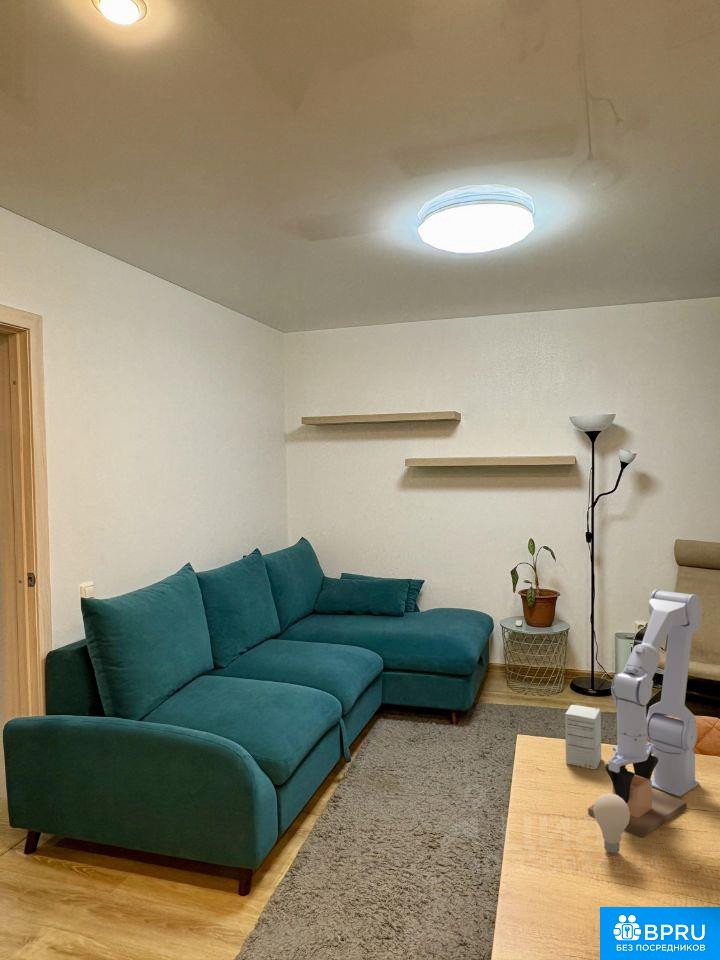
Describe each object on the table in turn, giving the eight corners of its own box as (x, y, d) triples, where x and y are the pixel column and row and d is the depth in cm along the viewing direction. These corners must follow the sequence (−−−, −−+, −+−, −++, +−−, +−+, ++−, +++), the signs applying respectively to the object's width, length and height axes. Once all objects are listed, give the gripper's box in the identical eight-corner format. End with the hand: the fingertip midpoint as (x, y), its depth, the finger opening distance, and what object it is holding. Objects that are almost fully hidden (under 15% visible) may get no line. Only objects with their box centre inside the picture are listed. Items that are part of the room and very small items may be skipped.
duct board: (633, 787, 153) (633, 766, 152) (686, 807, 143) (686, 785, 143) (588, 813, 141) (587, 791, 141) (642, 837, 132) (641, 814, 132)
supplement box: (571, 752, 171) (571, 703, 171) (602, 758, 167) (601, 708, 167) (564, 764, 165) (564, 713, 165) (596, 770, 161) (595, 718, 161)
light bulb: (633, 864, 123) (633, 805, 123) (596, 860, 125) (595, 802, 124) (627, 844, 130) (626, 788, 130) (591, 841, 131) (590, 785, 131)
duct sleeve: (626, 798, 145) (626, 771, 145) (651, 808, 141) (651, 780, 140) (612, 807, 141) (612, 779, 141) (638, 817, 137) (637, 788, 137)
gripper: (632, 717, 148) (633, 778, 149) (595, 734, 139) (595, 799, 140) (663, 726, 143) (664, 789, 143) (626, 745, 134) (627, 812, 134)
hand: (632, 795), depth 141 cm, fingers open, 7 cm apart
